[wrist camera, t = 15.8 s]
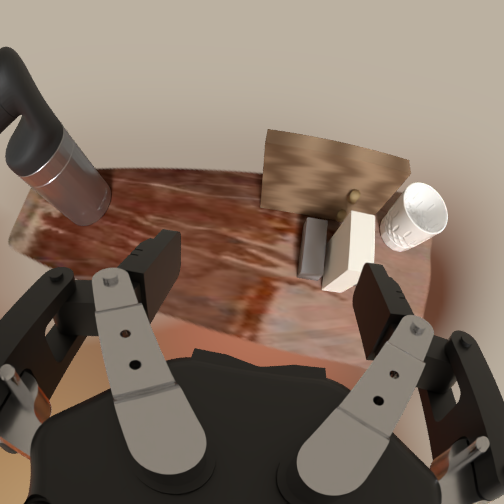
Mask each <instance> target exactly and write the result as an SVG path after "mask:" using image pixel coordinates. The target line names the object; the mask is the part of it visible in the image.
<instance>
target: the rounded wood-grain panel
mask: <svg viewBox="0 0 504 504" xmlns="http://www.w3.org/2000/svg"><path fill="white" fill-rule="evenodd" d="M410 174H411V171H410V164H409V160H407V159H403V158H400V157H396V156H393V155H389V154H386V153H382V152H379V151H375V150H370V149H367V148H363V147H359V146H355V145H350V144H346V143H341V142H337V141H333V140H327V139H323V138H317V137H313V136H307V135H302V134H296V133H290V132H284V131H277V130H270V129H268V131H267V136H266V141H265V154H264V167H263V180H262V193H261V206H260V208H267V209H273V210H279V211H285V212H291V213H297V214H303V215H309V216H315V217H320V218H326V219H331V220H336V221H337V222H343V221H344V220H345V219H346V217H347V216H348V215H349V213H350V212H351V211H356V212H361V213H365V214H370V215H374V216H375V214H376V213H377V212H378V211H379V210H380V209H381V208H382V207H383V206H384V204H385V203H386V202H387V201H388V200H389V199H390V198H391V196H392V195H393V194H394V193H395V192H396V191H397V190H398V188H399V187H400V186H401V185H402V184H403V183H404V181H405V180H406V179H407V178H408V177H409V176H410ZM327 224H328V221H327V220H321V219H316V218H310V217H307V219H306V221H305V223H304V226H303V233H302V241H301V250H300V258H299V266H298V274H297V278H304V279H310V280H318V279H319V278H321V277H322V276H323V270H324V260H325V249H326V237H327ZM354 286H357V284H355V285H354Z"/></svg>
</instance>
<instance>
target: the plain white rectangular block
mask: <svg viewBox="0 0 504 504" xmlns="http://www.w3.org/2000/svg"><path fill="white" fill-rule="evenodd" d="M374 249H375V216H374V215H370V214H365V213H361V212H356V211H351V212H350V213H349V215H348V216H347V217H346V219H345V220H344V221H343V223H342V224H341V226H340V227H339V228H338V230H337V231H336V232H335V234H334V235H333V236H332V238H331V239H330V240H329V242H328V243H327V244H326V254H325V264H324V273H323V282H322V290H326V291H332V292H339V293H342V292H343V291H345V290H347V289H349V288H350V287H352V286H354V285H355V284H357V283H358V280H359V277H360V274H361V271H362V268H363V266H364V264H365V263H366V262H368V263H374Z"/></svg>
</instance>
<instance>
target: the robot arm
mask: <svg viewBox="0 0 504 504" xmlns="http://www.w3.org/2000/svg"><path fill="white" fill-rule="evenodd" d="M19 115H22V117H21V120H20V122H19V124H18V126H17V128H16V129H15V131H14V133H13V135H12V136H11V138H10V140H9V143H8V145H7V149H6V156H5V157H6V163H7V165H8V166H9V168H10V169H11V170H12V171H13V172H14V173H16V174H17V175H18V176H19V177H20V178H21V179H23V180H24V181H25V182H26V183H27V184H28V185H29V186H30V187H32V188H33V189H34V190H35V191H36V192H37V193H39V194H40V195H41V196H42V197H43V198H44V199H46V200H47V201H48V202H49V203H50V204H52V205H53V206H54V207H55V208H57V209H58V210H59V211H60V212H61V213H63V214H64V215H65V216H66V217H67V218H69V219H70V220H71V221H73V222H74V223H75V224H77V225H80V226H87V225H90V224H93V223H94V222H96V221H97V220H99V219H100V218H101V217H102V216H103V215H104V213H105V212H106V210H107V209H108V206H109V204H110V200H111V190H110V187H109V186H108V184H107V183H106V182H105V180H104V179H103V178H102V177H101V175H100V174H99V173H98V171H97V170H96V169H95V168H94V166H93V165H92V164H91V162H90V161H89V160H88V158H87V157H86V156H85V155H84V153H83V152H82V151H81V149H80V148H79V147H78V145H77V144H76V143H75V141H74V140H73V139H72V137H71V136H70V135H69V133H68V132H67V131H66V129H65V128H64V126H63V125H62V124H61V122H60V121H59V120H58V118H57V117H56V116H55V115H54V113H53V111H52V110H51V109H50V107H49V106H48V104H47V103H46V101H45V100H44V98H43V97H42V95H41V93H40V92H39V90H38V88H37V86H36V85H35V83H34V81H33V79H32V77H31V75H30V73H29V72H28V69H27V68H26V66H25V64H24V62H23V61H22V59H21V58H20V57H19V55H18V54H17V53H16V52H15V51H14V50H13V49H12V48H9V47H3V48H1V49H0V134H1V132H2V131H4V130H5V129H6V127H8V126H9V125H10V124H11V123H12V122H13V121H14V120H15V119H16V118H17V117H18V116H19ZM180 266H181V234H180V232H178V231H171V230H165V229H163V230H161V232H160V233H159V234H158V235H157V236H156V237H155V238H154V239H151V238H150V239H148V240H146V241H143V242H141V243H140V244H139V245H138V246H137V247H136V248H135V250H133V251H132V252H131V254H130V255H129V256H128V257H127V258H126V259H125V260H124V261H123V262H122V263H121V264H120V265H119V266H118V267H117V268H107V269H103V270H101V271H99V272H97V273H96V274H95V275H94V276H93V278H92V280H75V278H74V273H73V271H72V270H71V269H69V268H66V267H58V268H54V269H51V270H49V271H47V272H46V273H45V274H44V275H42V276H41V278H40V279H38V280H37V281H36V282H35V283H34V284H33V285H32V286H31V288H30V289H28V291H27V292H26V293H25V294H24V295H23V296H22V297H21V298H20V299H19V300H18V301H17V302H16V303H15V304H14V305H13V306H12V308H11V309H10V310H9V311H8V312H7V313H6V314H5V315H4V316H3V318H2V319H1V320H0V447H2V448H3V449H4V450H5V451H7V452H9V453H12V454H16V453H19V454H21V455H22V456H24V457H26V458H27V459H29V460H30V462H31V479H30V488H29V494H28V497H27V499H26V501H25V503H24V504H488V503H490V502H492V501H494V500H495V499H497V498H499V497H500V496H502V495H504V401H503V399H502V396H501V394H500V391H499V389H498V386H497V384H496V382H495V379H494V377H493V375H492V373H491V371H490V369H489V366H488V364H487V362H486V360H485V358H484V356H483V354H482V352H481V350H480V348H479V346H478V344H477V342H476V341H475V340H474V338H473V337H472V336H470V335H469V334H467V333H466V332H463V331H454V332H453V333H452V335H451V336H450V338H449V340H447V339H444V338H441V337H438V336H435V335H434V331H433V328H432V326H431V325H430V324H429V323H428V322H427V321H426V320H424V319H423V318H421V317H418V316H415V315H414V314H413V312H412V310H411V308H410V306H409V304H408V302H407V300H406V299H405V296H404V294H403V293H402V290H401V288H400V286H399V285H398V284H397V283H396V282H395V281H394V280H393V279H392V278H391V277H389V276H388V274H387V272H386V271H385V269H384V267H383V265H380V264H374V263H368V262H366V263H365V264H364V266H363V268H362V271H361V274H360V277H359V280H358V283H357V286H356V288H355V291H354V295H353V308H354V312H355V316H356V319H357V323H358V327H359V331H360V335H361V339H362V343H363V347H364V351H365V356H366V360H374V361H373V362H372V363H371V365H370V366H369V368H368V369H367V371H366V372H365V373H364V374H363V376H362V377H361V379H360V380H359V381H358V382H357V384H356V385H355V386H354V388H353V389H352V390H351V391H350V390H349V389H348V388H347V387H345V386H344V385H342V384H339V383H338V382H336V381H333V380H331V379H328V378H326V371H325V368H319V367H308V366H300V365H287V366H270V367H258V366H255V365H253V364H250V363H247V362H245V361H242V360H239V359H237V358H234V357H232V356H229V355H226V354H221V353H215V352H210V351H206V350H201V349H196V348H195V349H194V351H193V354H192V357H185V358H176V359H171V360H167V361H165V359H164V356H163V354H162V352H161V350H160V347H159V345H158V343H157V340H156V338H155V335H154V333H153V331H152V328H151V326H150V324H151V322H152V320H153V318H154V317H155V315H156V313H157V312H158V310H159V308H160V306H161V305H162V303H163V301H164V300H165V298H166V296H167V294H168V293H169V291H170V289H171V288H172V286H173V284H174V283H175V281H176V279H177V278H178V275H179V272H180ZM52 318H53V319H54V322H55V324H54V326H53V327H52V328H51V330H50V331H49V333H48V334H47V335H46V336H45V330H46V327H47V325H48V324H49V322H50V321H51V319H52ZM87 336H99V340H100V345H101V350H102V354H103V359H104V363H105V368H106V372H107V376H108V380H109V384H110V387H111V388H110V389H108V390H106V391H104V392H102V393H100V394H98V395H96V396H94V397H92V398H89V399H87V400H85V401H83V402H81V403H79V404H77V405H75V406H73V407H70V408H68V409H66V410H64V411H62V412H60V413H57V414H55V415H53V416H51V417H50V415H51V404H50V401H49V400H50V398H51V396H52V395H53V393H54V391H55V389H56V387H57V385H58V384H59V382H60V380H61V378H62V377H63V375H64V373H65V372H66V370H67V368H68V366H69V365H70V363H71V361H72V360H73V358H74V356H75V355H76V353H77V352H78V350H79V348H80V347H81V345H82V343H83V342H84V340H85V339H86V337H87ZM456 381H457V382H458V385H459V388H460V391H461V395H460V400H459V402H458V403H457V404H456V402H455V399H454V395H453V392H452V389H451V387H452V386H453V385H454V384H455V382H456ZM415 387H418V390H419V394H420V398H421V402H422V406H423V411H424V415H425V420H426V425H427V429H428V435H429V440H430V446H431V452H432V458H433V461H432V463H431V465H430V469H429V468H428V467H427V466H426V465H425V464H424V463H423V462H422V461H421V460H420V459H419V458H418V457H417V456H416V455H415V454H414V453H413V452H412V451H411V450H410V449H409V448H408V447H407V446H406V445H405V444H404V443H403V442H402V441H401V440H400V439H399V438H397V436H396V435H395V434H394V433H393V430H394V428H395V426H396V425H397V423H398V421H399V419H400V417H401V415H402V414H403V412H404V410H405V408H406V406H407V404H408V402H409V400H410V397H411V396H412V393H413V391H414V389H415Z"/></svg>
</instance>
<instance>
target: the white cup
mask: <svg viewBox="0 0 504 504" xmlns="http://www.w3.org/2000/svg"><path fill="white" fill-rule="evenodd" d="M447 221H448V213H447V208H446V205H445V203H444V201H443V199H442V197H441V196H440V195H439V193H438V192H437V191H436V190H434V189H433V188H432V187H431V186H429V185H427V184H424V183H419V182H418V183H412V184H410V185H409V186H408V187H407V188H406V189H405V191H404V192H403V193H402V194H401V196H400V197H399V198H398V199H397V200H396V202H395V203H394V204H393V206H392V207H391V208H390V210H389V211H388V213H387V214H386V216H385V217H384V218H383V219H382V221H381V225H380V233H381V237H382V239H383V241H384V242H385V244H386V245H387V246H388V247H390V248H391V249H392V250H395V251H399V252H402V251H406V250H408V249H410V248H412V247H414V246H417V245H418V244H420V243H422V242H424V241H426V240H428V239H429V238H431V237H433V236H434V235H436V234H438V233H440V232H441V231H442V230H444V228H445V227H446V224H447Z"/></svg>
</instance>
